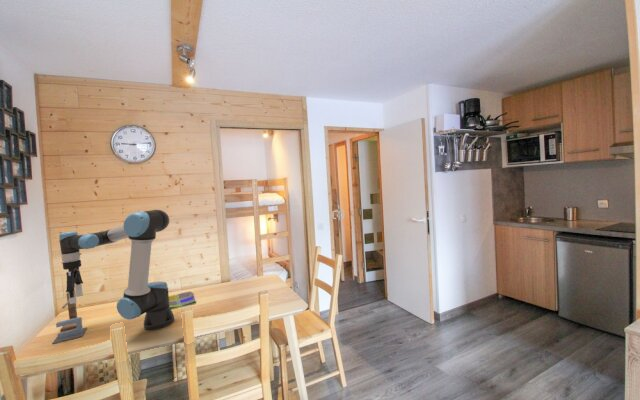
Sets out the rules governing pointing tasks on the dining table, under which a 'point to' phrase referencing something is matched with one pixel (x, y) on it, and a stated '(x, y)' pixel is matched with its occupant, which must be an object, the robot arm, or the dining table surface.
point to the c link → (68, 322)
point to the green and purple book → (181, 300)
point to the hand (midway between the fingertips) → (76, 299)
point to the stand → (70, 315)
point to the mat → (69, 337)
